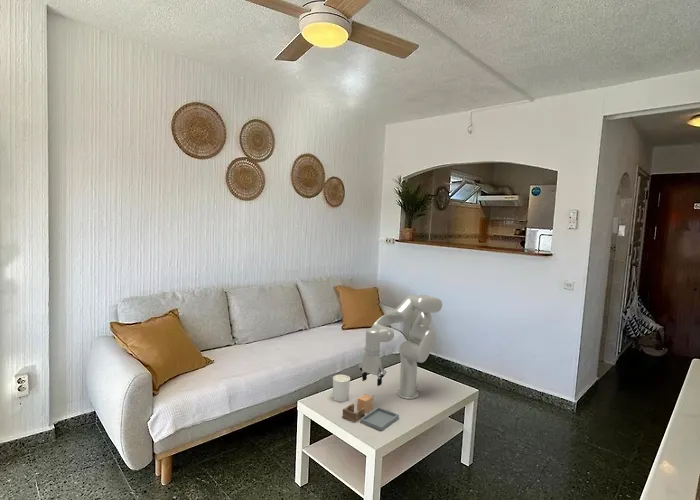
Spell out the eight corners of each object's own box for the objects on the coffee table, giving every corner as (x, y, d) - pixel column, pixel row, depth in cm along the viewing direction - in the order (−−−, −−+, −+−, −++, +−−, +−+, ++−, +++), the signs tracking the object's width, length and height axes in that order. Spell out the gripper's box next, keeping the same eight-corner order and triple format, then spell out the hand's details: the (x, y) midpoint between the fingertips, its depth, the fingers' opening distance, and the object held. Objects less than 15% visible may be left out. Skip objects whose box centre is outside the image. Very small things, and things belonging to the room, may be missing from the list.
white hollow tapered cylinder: (335, 403, 214) (336, 382, 213) (329, 396, 223) (330, 375, 222) (352, 401, 218) (353, 380, 217) (345, 393, 227) (346, 373, 226)
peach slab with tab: (368, 403, 215) (369, 391, 215) (376, 406, 212) (377, 394, 212) (357, 411, 206) (357, 398, 206) (364, 414, 203) (365, 401, 203)
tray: (378, 410, 208) (378, 406, 208) (398, 418, 200) (399, 414, 200) (360, 422, 194) (360, 418, 194) (381, 431, 187) (381, 427, 187)
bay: (352, 411, 205) (352, 403, 205) (364, 416, 201) (364, 408, 200) (342, 417, 199) (342, 409, 198) (354, 422, 194) (355, 414, 194)
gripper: (355, 350, 212) (354, 380, 213) (382, 357, 201) (381, 389, 203) (363, 346, 218) (362, 376, 219) (389, 353, 207) (389, 384, 209)
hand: (371, 382), depth 211 cm, fingers open, 9 cm apart
